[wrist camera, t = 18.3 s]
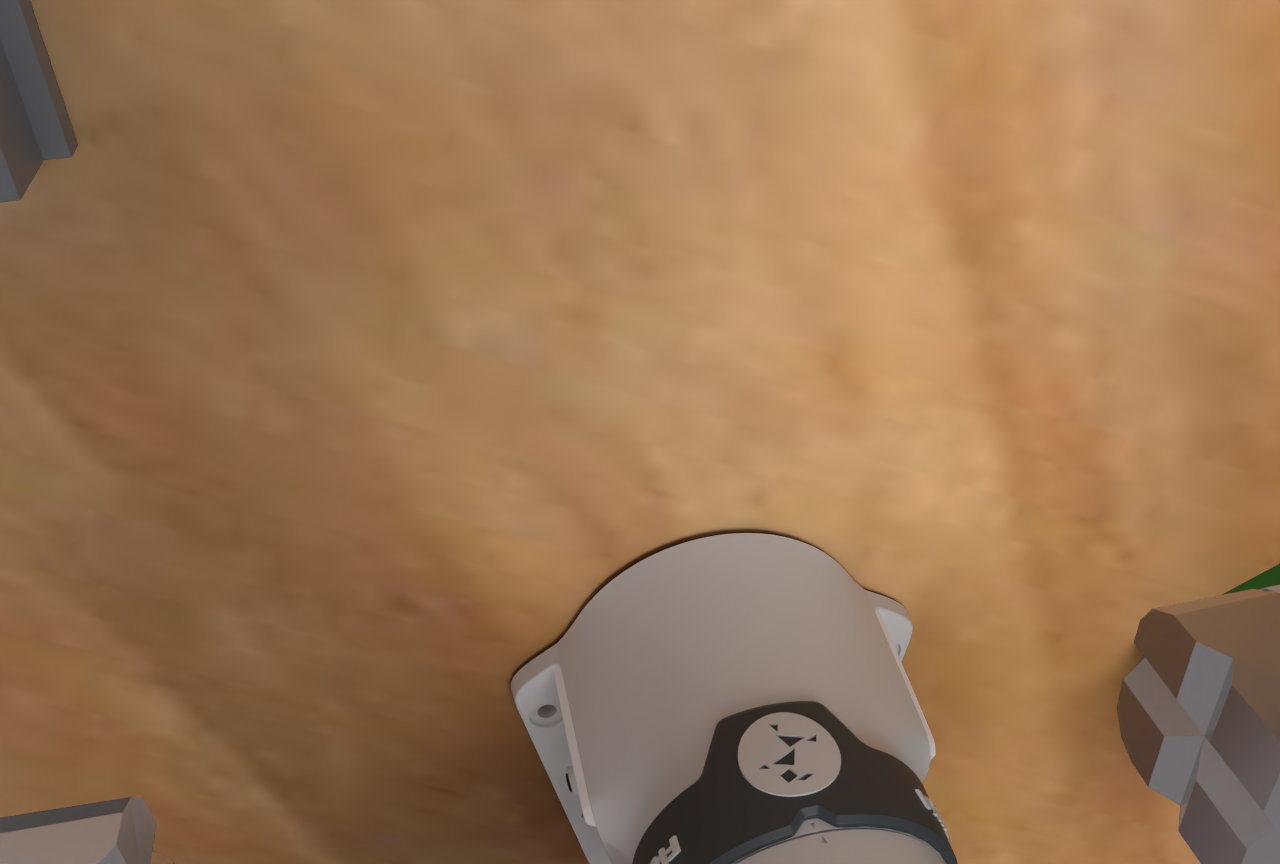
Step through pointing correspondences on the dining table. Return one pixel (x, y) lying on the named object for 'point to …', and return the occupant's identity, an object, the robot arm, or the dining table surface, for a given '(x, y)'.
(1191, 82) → the dining table surface
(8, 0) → the grey slotted rack
